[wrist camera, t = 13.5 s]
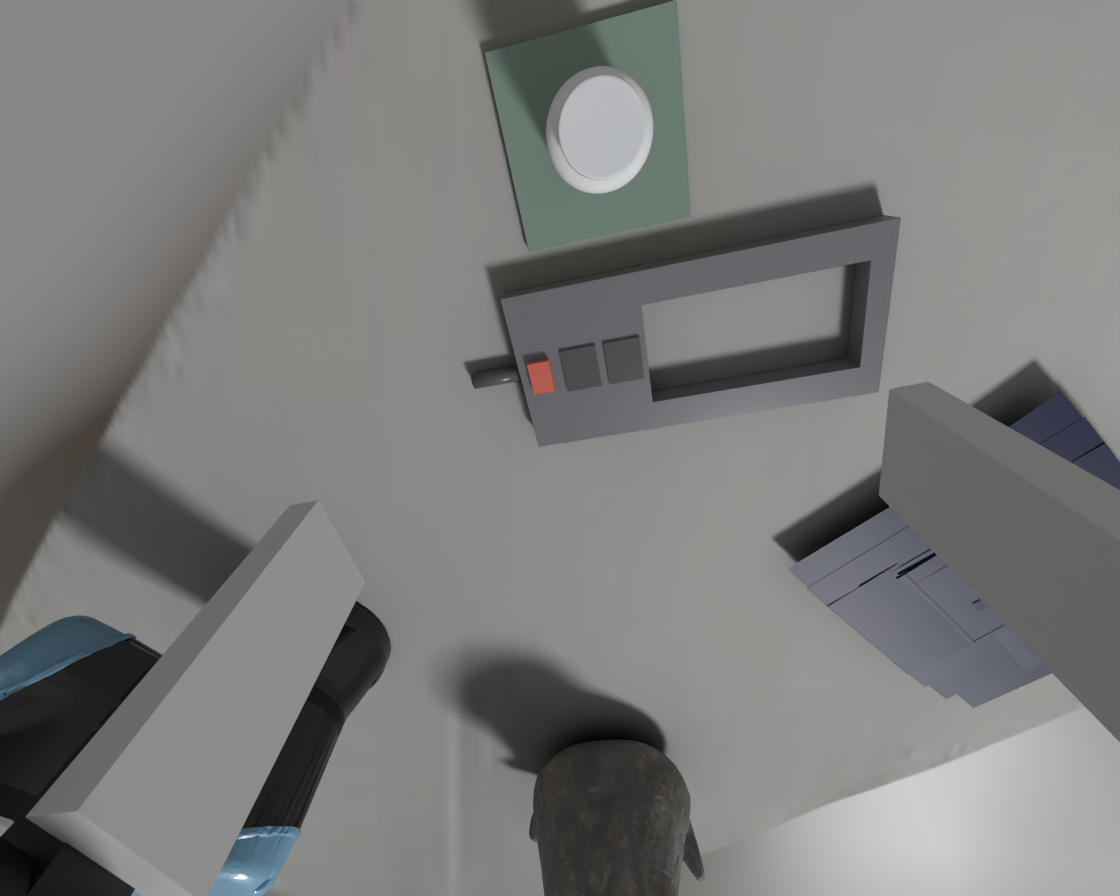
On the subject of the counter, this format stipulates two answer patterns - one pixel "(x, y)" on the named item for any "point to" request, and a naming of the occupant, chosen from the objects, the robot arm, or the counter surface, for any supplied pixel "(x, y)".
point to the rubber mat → (523, 105)
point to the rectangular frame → (616, 297)
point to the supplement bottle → (599, 129)
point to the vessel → (613, 822)
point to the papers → (942, 584)
